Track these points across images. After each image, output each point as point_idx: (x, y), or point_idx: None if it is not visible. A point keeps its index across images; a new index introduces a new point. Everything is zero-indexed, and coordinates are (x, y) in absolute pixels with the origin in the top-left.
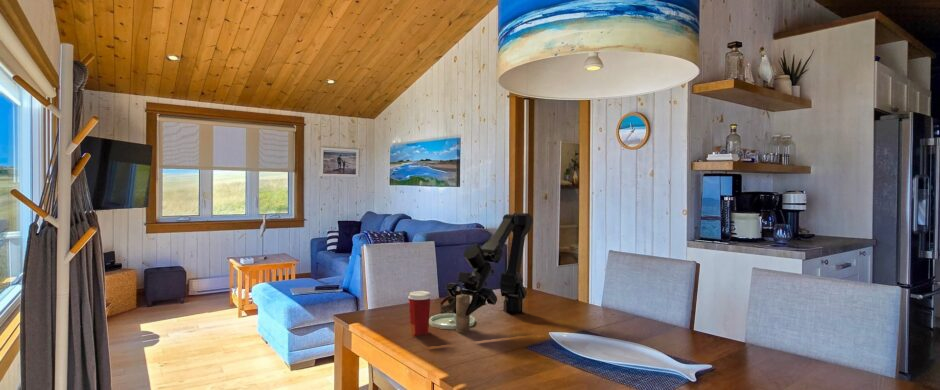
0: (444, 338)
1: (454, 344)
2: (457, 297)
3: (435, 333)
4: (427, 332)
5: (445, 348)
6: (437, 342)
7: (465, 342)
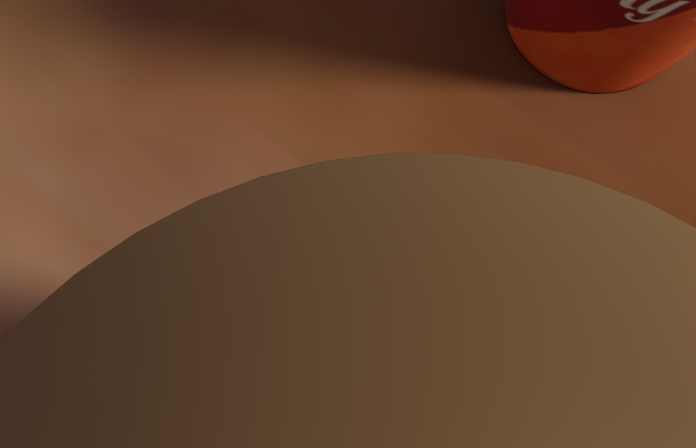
0: (334, 140)
1: (104, 103)
2: (440, 163)
3: (546, 167)
4: (530, 33)
5: None
6: (275, 15)
7: (64, 233)
